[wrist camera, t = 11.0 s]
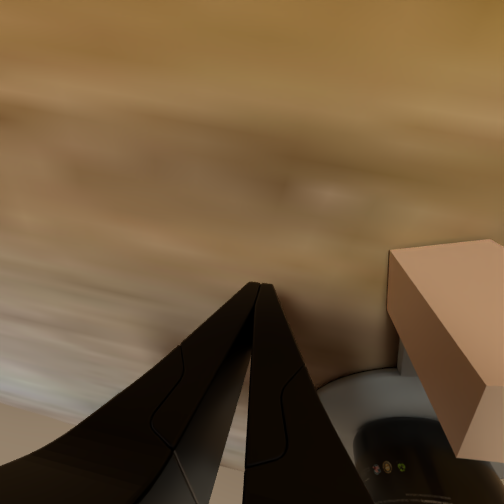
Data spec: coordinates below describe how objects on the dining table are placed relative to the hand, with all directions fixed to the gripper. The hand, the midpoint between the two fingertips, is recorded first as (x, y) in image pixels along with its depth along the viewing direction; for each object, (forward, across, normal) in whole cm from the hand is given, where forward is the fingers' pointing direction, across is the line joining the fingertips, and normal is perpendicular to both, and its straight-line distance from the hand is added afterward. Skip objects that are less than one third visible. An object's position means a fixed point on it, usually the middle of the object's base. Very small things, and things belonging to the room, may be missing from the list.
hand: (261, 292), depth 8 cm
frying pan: (+2, -8, +9) cm, 12 cm away
